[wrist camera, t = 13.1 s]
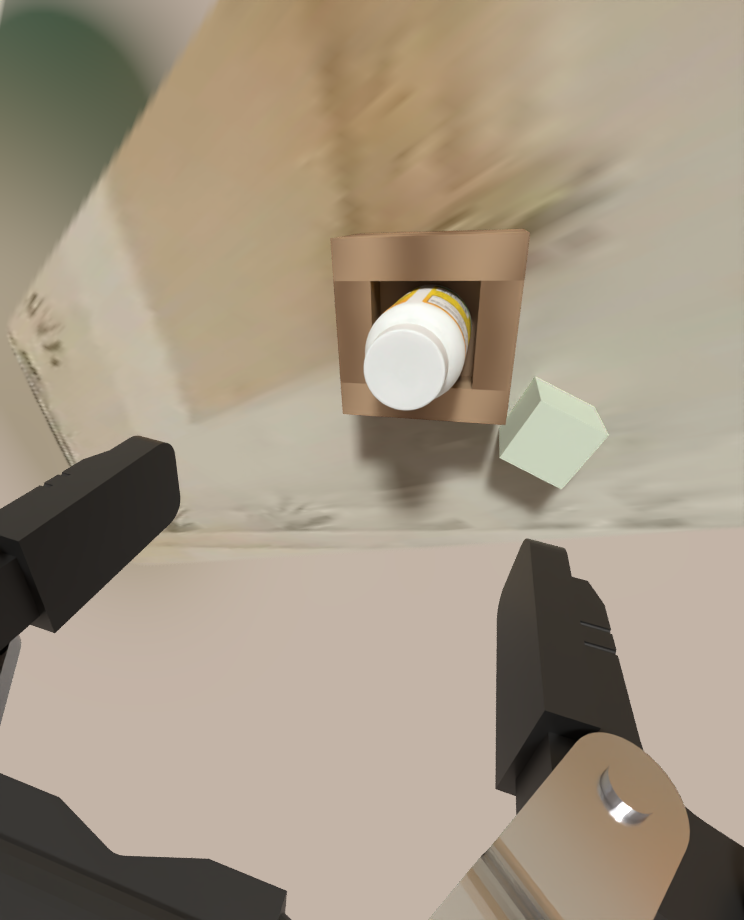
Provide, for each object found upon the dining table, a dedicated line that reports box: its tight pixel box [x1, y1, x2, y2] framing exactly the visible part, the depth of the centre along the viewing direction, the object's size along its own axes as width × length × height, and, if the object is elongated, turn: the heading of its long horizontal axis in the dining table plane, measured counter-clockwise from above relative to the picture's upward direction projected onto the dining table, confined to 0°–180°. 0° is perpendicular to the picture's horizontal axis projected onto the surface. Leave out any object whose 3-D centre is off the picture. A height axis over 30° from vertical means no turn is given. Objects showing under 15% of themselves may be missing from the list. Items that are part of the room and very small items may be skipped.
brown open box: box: [331, 229, 530, 425], centre depth 29 cm, size 11×11×6 cm
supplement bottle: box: [364, 285, 472, 410], centre depth 25 cm, size 5×5×10 cm
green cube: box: [499, 376, 609, 490], centre depth 32 cm, size 5×5×5 cm
